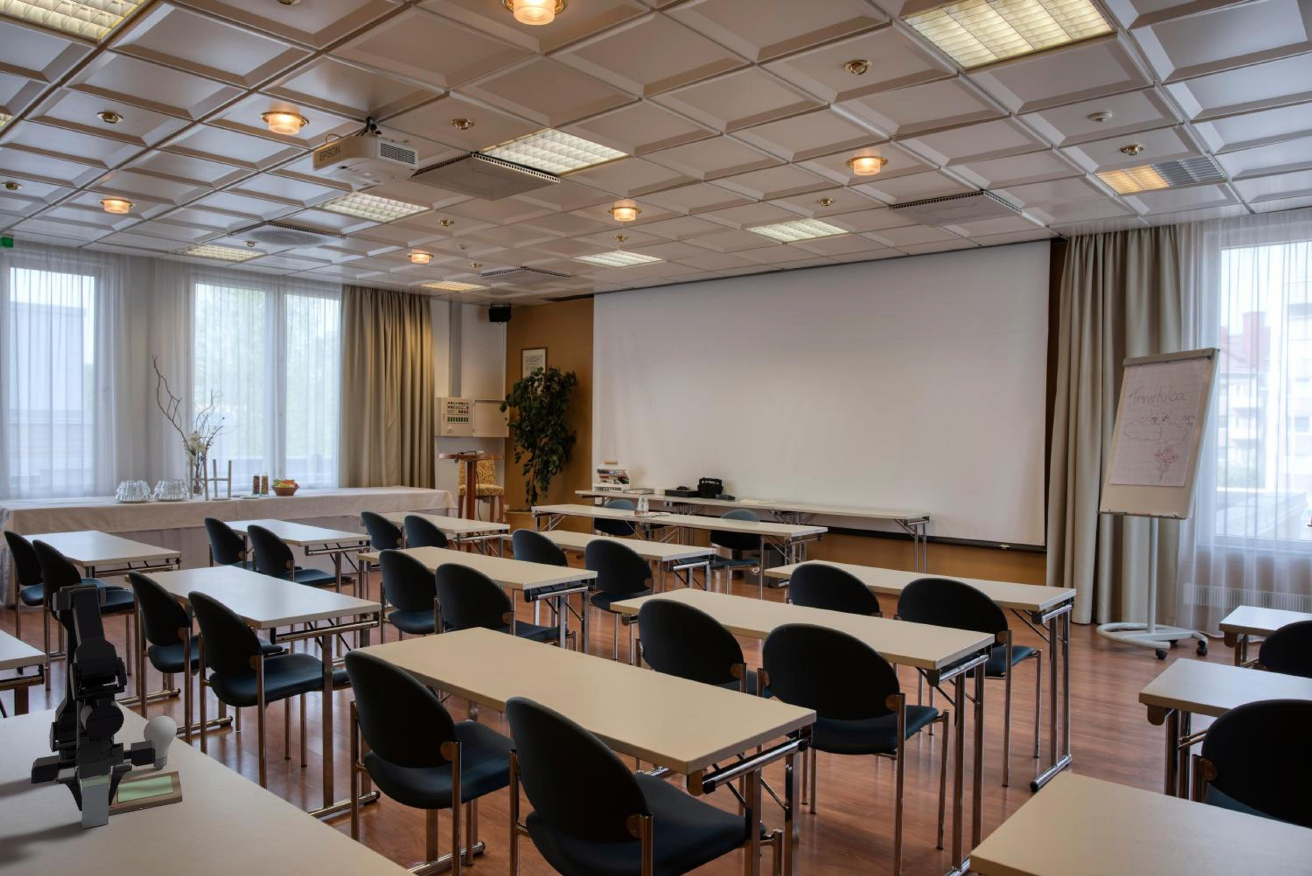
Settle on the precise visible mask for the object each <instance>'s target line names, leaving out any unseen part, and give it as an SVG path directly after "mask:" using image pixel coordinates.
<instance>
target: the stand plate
mask: <svg viewBox="0 0 1312 876" xmlns="http://www.w3.org/2000/svg"><path fill="white" fill-rule="evenodd" d="M181 785H182V783H181V778H180V774H179V770H175V771H169V772H163V773H158V774H151V775H147V776H141V777H136V778H130V779H123V780H121V781H120V783H119V785H118V787H117V790H116V793H115V796H114V798H113V801H112V804H111V806H109V816H113V815H118V814H119V815H120V814H124V813H125V814H126V813H128V811H130V812H132V811H131V810H135V811H138V810H137V809H140V808H145V807H146V808H145V809H148V808H147V807H150V808H154V807H153V806H155V807H159V805H161V806H165V804H166V805H169V803H171V804H174V803H175V804H176V803H180V802H183V791H182V786H181ZM109 788H110V782H109ZM140 810H141V809H140Z"/></svg>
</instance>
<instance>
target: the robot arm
mask: <svg viewBox="0 0 1312 876" xmlns="http://www.w3.org/2000/svg"><path fill="white" fill-rule="evenodd" d="M59 588H60V589H59V590H58V591H57V592H53V594H52V610H53V611H54V612H56V617H57V618H58V619H57V620H58V622H60V624H61V625H62V627H64V629H65V648H64V649H65V658H64V660H65V661H64V662H65V663H64V665H65V667H64V669H65V670H64V698H63V700H61V702H60V704H59V705H58V707H57V708H56V709H55V714H54V715H55V716H54V721H51V724H50V729H49V748H50V750H51V751H50V752H51V753H56V752H58V754H55V755H54V754H53V755H49V756H42V757H37V758H36V759H35V760H34V761H32V762H33V763H32V766H31V771H30V784H33V785H38V784H44V783H48V782H49V783H51V782H53V781H54V783H57V784H59V785H60V784H64V785H65V786H66V787H67V788H68V789H69V791H70V793H71V794H72V796H73V799H74V802H75V804H76V807H77V809H78V811H79V812H82V783H81V780H82V779H87V778H89V777H93V776H99V775H101V776H104V775H107V774H109V775H110V774H111V776H110V781H109V783H110V788H109V806H111V804H112V801H113V798H114V796H115V793H116V790H117V787H118V785H119V783H120V781H122V779H123V777H124V776H125V775H126V773H130V772H132V771H133V766H134V767H142V766H149V765H153V763H155V762H156V749H155V743H154V742H153V741H152V740H149V741H146V740H144V741H137V742H132V743H130V749H124V748H125V746H124V742H118V743H115V735H116V734H117V733H118V732H119V731H120V729H122V727H123V725H124V722H125V715H124V713H123V711H122V709H121V708H120V706H119V705H118V703H117V702H116V695H117V694H122V693H125V692H126V691H125V689H126V687H127V686H128V678H127V671H126V665H125V662H124V661H123V658H122V657H121V656H118V653H117V649H116V646H115V645H114V643H112V642H110V641H108V640H106V636H105V630H104V623H103V619H102V613H101V607H103V606H106V605H107V604H106V587H98V586H97V584H96V583H90V584H87V583H86V584H78V585H76V584H75V585H68V586H60V587H59ZM116 679H117V680H116ZM116 681H117V683H115V682H116Z"/></svg>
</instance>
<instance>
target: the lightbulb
mask: <svg viewBox="0 0 1312 876" xmlns="http://www.w3.org/2000/svg"><path fill="white" fill-rule="evenodd" d="M177 732H178V726H177V723H176V721H175V720H174V719H173V718H172V717H170V716H167V715H159V716H155V717H154V718H152V719H150V720H149V721H148V722H147V723H146V725H145V726H144V729H143V738H144V741H149V740H152V741H153V742H154V743H155V749H156V762H155V763H153V764H152V766H153V767H154V768H157V769H158V770H160V769H163V768H164V767H166V766H167V765H168V757H169V754H170V748H171V744H172V742H173V741H174V739H175V737H176V734H177Z"/></svg>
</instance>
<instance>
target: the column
mask: <svg viewBox="0 0 1312 876" xmlns="http://www.w3.org/2000/svg"><path fill="white" fill-rule="evenodd" d="M109 783H110V773H109V774H107V775H104V776H101V775H99V776H93V777H89V778H87V779H81V792H82V811H81V829H82V830H83V829H87V828H92V827H98V826H102V825H107V824H109V817H110V815H109Z"/></svg>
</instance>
